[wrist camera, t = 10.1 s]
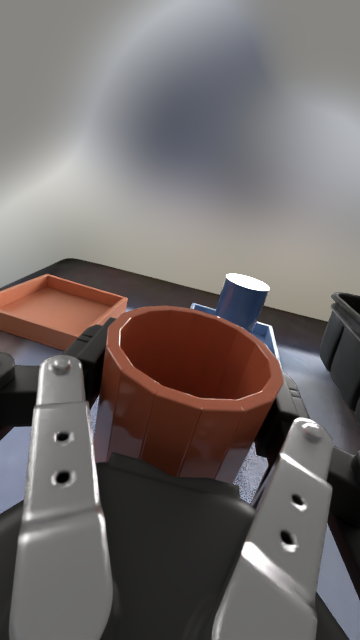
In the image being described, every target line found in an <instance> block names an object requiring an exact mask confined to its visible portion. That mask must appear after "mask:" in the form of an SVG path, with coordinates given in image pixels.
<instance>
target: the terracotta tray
mask: <svg viewBox="0 0 360 640" xmlns="http://www.w3.org/2000/svg"><path fill="white" fill-rule="evenodd" d="M126 305H127V298H126V297H123V296H119V295H116V294H112V293H109V292H106V291H102V290H99V289H96V288H92V287H89V286H86V285H82V284H79V283H76V282H72V281H69V280H65V279H62V278H59V277H55V276H52V275H49V274H45V275H43V276H40V277H37V278H35V279H32V280H29V281H26V282H24V283H21V284H18V285H16V286H13V287H10V288H8V289H5V290H2V291H0V330H1V331H4V332H7V333H10V334H13V335H16V336H19V337H23V338H26V339H29V340H32V341H35V342H38V343H41V344H44V345H47V346H50V347H53V348H57V349H60V350H63V351H65V350H66V349H67V348H68V347H69V346H70V345H71V344H72V343H73V342H74V341H75V340H77V338H78V337H79V336H80V335H81V334H82V333H83V332H84V331H85V330H86V329H87V328H88V327H91V326H93V325H95V324H98V325H102V326H103V325H104V323H105V322H106V321H107V320H108V319H109V318H110V317H112V318H116V319H117V318H118V317H119V316H120V315H121V314H123V313H125V312H126Z"/></svg>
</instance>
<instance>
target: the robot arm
mask: <svg viewBox="0 0 360 640" xmlns="http://www.w3.org/2000/svg"><path fill="white" fill-rule="evenodd" d="M115 320H116V318H112V317H110V318H109V319H108V320H107V321H106V322H105V323H104V325H103V326H102V325H98V324H95V325H93V326H91V327H88V328H87V329H86V330H85V331H84V332H83V333H82V334H81V335H80V336H79V337H78V338H77V340H75V341H74V342H73V343H72V344H71V345H70V346H69V347H68V348H67V349H66V350H65V352H64V353H63V354H62V355H56V356H52V357H49V358H47V359H45V360H44V361H43V362H42V363H41V364H40V366H21V365H14V359H13V357H12V356H11V355H9V354H7V353H4V352H0V440H1V439H2V438H3V437H4V436H5V435H6V434H7V433H8V432H9V431H10V430H12V428H13V427H22V426H32V429H31V438H30V448H29V457H28V467H27V476H26V485H25V495H24V500H22V501H21V502H19V503H17V504H16V505H14V506H13V507H11V508H9V509H8V510H6V511H4V512H3V513H1V514H0V640H349V638H348V637H347V635H346V634H345V632H344V631H343V629H342V628H341V627H340V625H339V624H338V622H337V621H336V619H335V618H334V616H333V615H332V613H331V612H330V611H329V609H328V608H327V606H326V605H325V603H324V602H323V600H322V599H321V597H320V596H319V595H318V593H317V592H316V589H317V583H318V576H319V570H320V564H321V558H322V551H323V545H324V539H325V533H326V527H327V523H328V525H329V528H330V530H331V533H332V535H333V537H334V540H335V542H336V545H337V547H338V549H339V552H340V554H341V557H342V559H343V561H344V564H345V566H346V569H347V571H348V573H349V576H350V578H351V580H352V583H353V585H354V588H355V590H356V592H357V595H358V597H359V600H360V450H359V451H358V453H357V454H356V455H355V456H354V455H352V454H350V453H348V452H346V451H344V450H342V449H340V448H338V447H336V446H334V445H333V440H332V438H331V436H330V435H329V433H328V432H327V431H326V430H325V429H324V428H323V427H322V426H320V425H319V424H317V423H316V422H314V421H312V420H310V417H309V415H308V413H307V410H306V408H305V405H304V403H303V401H302V399H301V396H300V393H299V392H298V389H297V386H296V384H295V382H294V381H293V380H292V379H291V378H290V376H289V375H288V374H285V373H283V371H282V368H281V371H282V375H283V379H284V384H283V386H282V388H281V390H280V392H279V394H278V396H277V398H276V400H275V402H274V404H273V406H272V408H271V410H270V412H269V414H268V416H267V418H266V420H265V422H264V424H263V426H262V428H261V430H260V432H259V434H258V436H257V438H256V440H255V448H256V454H257V455H258V456H262V457H265V458H267V460H268V467H267V469H266V471H265V473H264V475H263V477H262V480H261V482H260V484H259V486H258V488H257V490H256V493H255V495H254V497H253V499H252V501H251V504H248V503H247V502H245V501H244V500H242V499H240V494H239V486H237V485H234V484H230V483H226V482H223V481H219V480H215V479H211V478H208V477H174V476H171V475H169V474H167V473H166V472H164V471H162V470H160V469H158V468H157V467H155V466H153V465H151V464H149V463H147V462H146V461H144V460H141V459H137V458H133V457H130V456H126V455H122V454H118V453H115V452H112V453H111V456H110V458H109V461H108V462H99V463H96V460H95V452H94V443H93V434H92V425H91V417H90V409H91V408H92V406H93V404H94V402H95V401H96V399H97V397H98V396H99V393H100V385H101V377H102V369H103V361H104V353H105V345H106V337H107V329H108V327H109V326H110V325H111V324H112V323H113V322H114V321H115ZM280 366H281V365H280Z"/></svg>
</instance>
